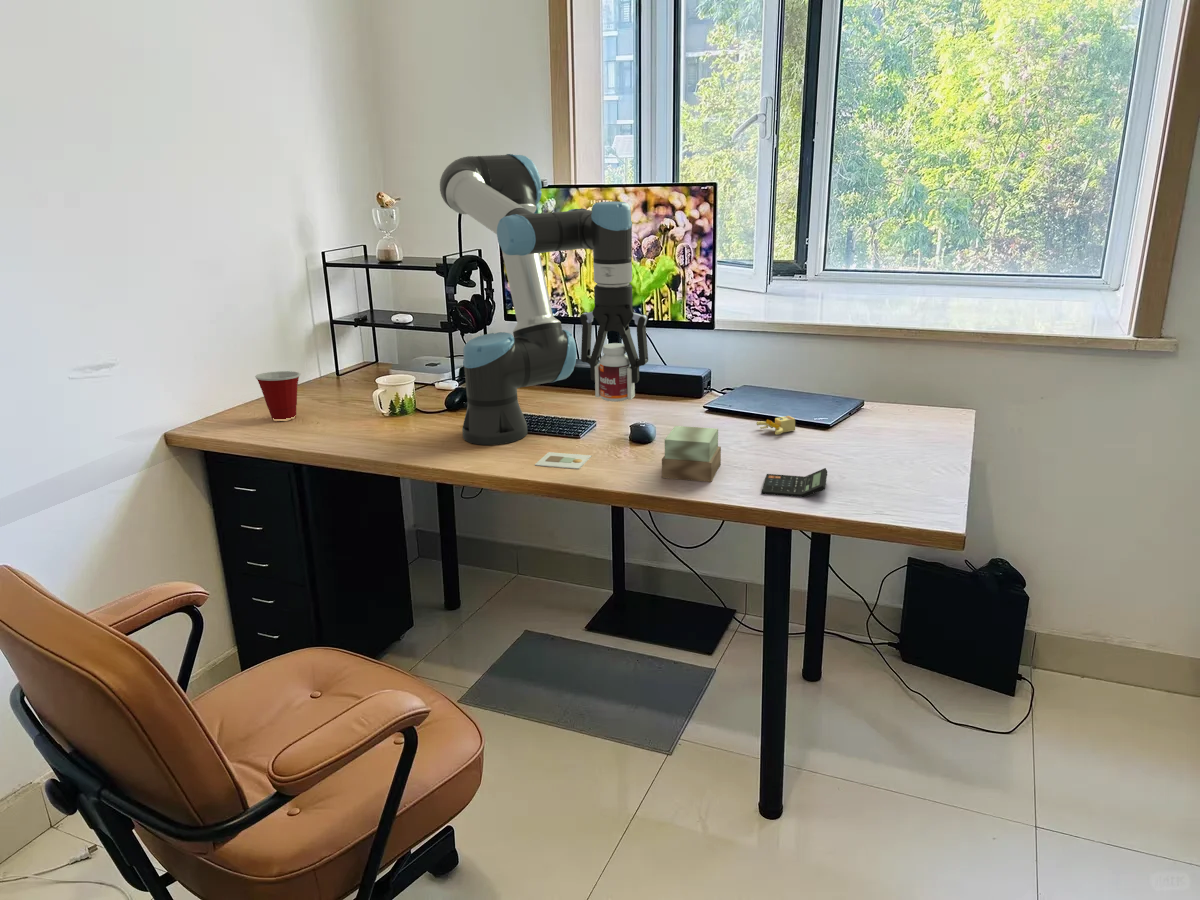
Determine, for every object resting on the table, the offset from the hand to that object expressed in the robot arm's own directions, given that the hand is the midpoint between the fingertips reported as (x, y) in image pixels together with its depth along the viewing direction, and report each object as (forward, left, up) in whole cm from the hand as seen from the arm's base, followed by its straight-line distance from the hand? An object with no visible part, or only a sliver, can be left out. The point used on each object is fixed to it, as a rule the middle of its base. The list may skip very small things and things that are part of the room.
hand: (615, 396), depth 176 cm
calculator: (+37, -5, -15) cm, 41 cm away
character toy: (+29, +28, -15) cm, 43 cm away
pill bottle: (0, 0, -1) cm, 1 cm away
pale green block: (+16, -1, -15) cm, 22 cm away
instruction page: (-12, -1, -15) cm, 19 cm away
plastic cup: (-94, +13, -15) cm, 96 cm away
